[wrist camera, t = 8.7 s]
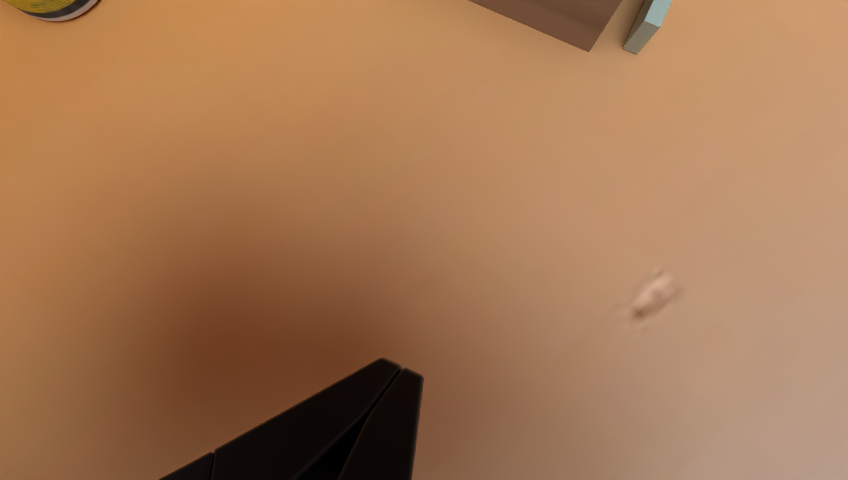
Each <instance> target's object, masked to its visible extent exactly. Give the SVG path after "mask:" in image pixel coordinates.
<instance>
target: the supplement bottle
mask: <svg viewBox="0 0 848 480" xmlns="http://www.w3.org/2000/svg"><path fill="white" fill-rule="evenodd" d="M4 1H6V2H7V3H9V4H11V5H13V6H14V7H16V8H18V9H20V10H21V11H23V12H25V13H27V14H28V15H30V16H33V17H35V18H38V19H41V20H46V21H64V20H69V19H72V18H75V17H77V16H79V15H81V14H82V13H84V12H86V11H87V10H88V9H90V8H91V7H92V6H93V5H94V4H95V3H96V2H97V1H98V0H4Z"/></svg>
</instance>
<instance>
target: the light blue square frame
mask: <svg viewBox="0 0 848 480" xmlns="http://www.w3.org/2000/svg"><path fill="white" fill-rule="evenodd" d="M671 2H672V0H645V1H644V3H643V5H642V7H641V10H640V12H639V14H638V16H637V18H636V20H635V23H634V25H633V27H632V29H631V31H630V33H629V36H628V38H627V40H626V42H625V44H624V46H623V49H625V50H628V51H630V52H632V53H635V54H637V53H638V52H639V51H640V50H641V48H642V47H643V46H644V45H645V44H646V43H647V42H648V40H649V39H650V38H651V37H652V36H653V35H654V33H655V32H656V31H657V30H658V29H659V28H660V26H661V24H662V22H663V19H664V17H665V15H666V13H667V11H668V9H669V7H670V4H671Z"/></svg>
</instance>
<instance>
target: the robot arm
mask: <svg viewBox="0 0 848 480" xmlns="http://www.w3.org/2000/svg"><path fill="white" fill-rule="evenodd" d="M423 381H424V378H423V376H422V375H421V374H419V373H417V372H414V371H412V370H410V369H408V368H403V369H402V367H401V366H400V365H399V364H397V363H395V362H393V361H391V360H388V359H386V358H379V359H377V360H376V361H374V362H372V363H370V364H368V365H367V366H365V367H363V368H361V369H359V370H358V371H356V372H354V373H352V374H350V375H349V376H347V377H345V378H343V379H341V380H340V381H338V382H336V383H334V384H332V385H331V386H329V387H327V388H325V389H323V390H322V391H320V392H318V393H316V394H314V395H313V396H311V397H309V398H307V399H305V400H304V401H302V402H300V403H298V404H296V405H294V406H293V407H291V408H289V409H287V410H285V411H284V412H282V413H280V414H278V415H276V416H275V417H273V418H271V419H269V420H267V421H266V422H264V423H262V424H260V425H258V426H257V427H255V428H253V429H251V430H249V431H248V432H246V433H244V434H242V435H240V436H239V437H237V438H235V439H233V440H231V441H229V442H228V443H226V444H224V445H222V446H220V447H219V448H217V449H215V451H214V454H213V452H209V453H207V454H206V455H204V456H202V457H200V458H198V459H197V460H195V461H193V462H191V463H189V464H187V465H186V466H184V467H182V468H180V469H178V470H176V471H174V472H172V473H170V474H168V475H166V476H165V477H163V478H161V479H159V480H412V474H413V466H414V457H415V449H416V441H417V432H418V424H419V415H420V407H421V398H422V390H423Z"/></svg>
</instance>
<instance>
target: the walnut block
mask: <svg viewBox="0 0 848 480" xmlns="http://www.w3.org/2000/svg"><path fill="white" fill-rule="evenodd" d="M469 1H471V2H473V3H476V4H478V5H480V6H483V7H485V8H487V9H490V10H492V11H494V12H497V13H499V14H501V15H504V16H506V17H508V18H511V19H513V20H515V21H518V22H520V23H522V24H525V25H527V26H529V27H531V28H534V29H536V30H538V31H541V32H543V33H545V34H548V35H550V36H552V37H555V38H557V39H559V40H562V41H564V42H566V43H569V44H571V45H573V46H576V47H578V48H580V49H583V50H585V51H587V52H589V51H590V49H591V48H592V46H593V45H594V43H595V42H596V40H597V39H598V37H599V35H600V34H601V32H602V31H603V29H604V28H605V26H606V24H607V23H608V21H609V20H610V18H611V17H612V15H613V13H614V12H615V10H616V9H617V7H618V6H619V4H620V3H621V1H622V0H469Z"/></svg>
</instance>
